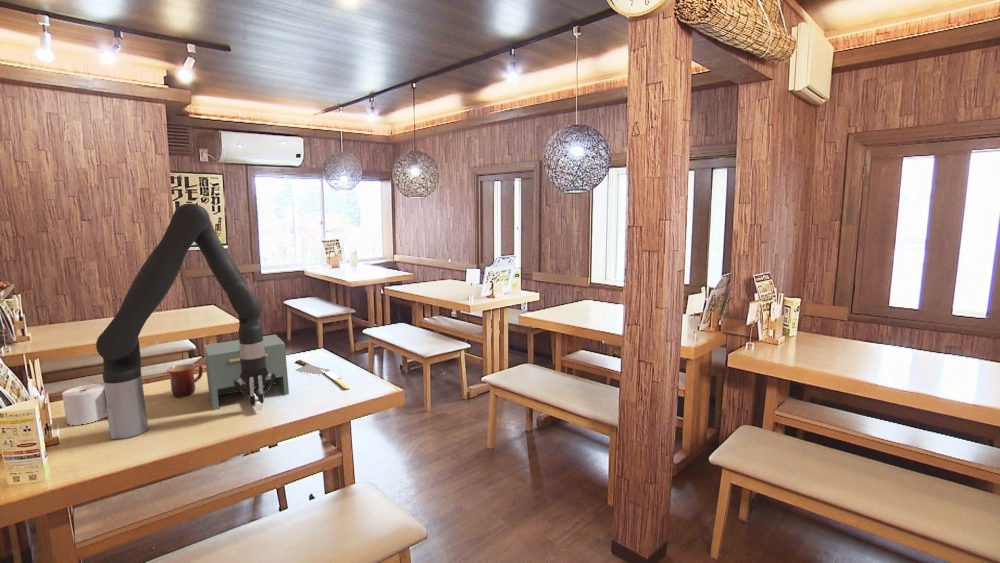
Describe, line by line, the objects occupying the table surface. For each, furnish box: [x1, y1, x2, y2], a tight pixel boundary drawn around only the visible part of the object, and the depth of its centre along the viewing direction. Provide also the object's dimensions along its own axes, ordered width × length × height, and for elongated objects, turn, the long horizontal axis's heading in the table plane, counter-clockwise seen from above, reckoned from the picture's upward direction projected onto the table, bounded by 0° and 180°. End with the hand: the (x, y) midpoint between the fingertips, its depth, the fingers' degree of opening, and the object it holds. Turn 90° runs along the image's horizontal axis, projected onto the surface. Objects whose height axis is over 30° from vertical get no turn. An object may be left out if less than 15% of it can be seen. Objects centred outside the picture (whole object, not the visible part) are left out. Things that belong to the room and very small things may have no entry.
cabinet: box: [203, 333, 290, 411], centre depth 183 cm, size 24×16×19 cm
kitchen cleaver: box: [295, 359, 331, 376], centre depth 214 cm, size 24×1×10 cm
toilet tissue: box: [61, 383, 108, 426], centre depth 166 cm, size 11×12×10 cm
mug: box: [166, 363, 204, 398], centre depth 187 cm, size 12×9×10 cm
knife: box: [320, 366, 352, 390], centre depth 202 cm, size 1×34×5 cm
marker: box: [247, 392, 263, 411], centre depth 174 cm, size 3×2×16 cm
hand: (257, 404), depth 171 cm, fingers closed on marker, 1 cm apart
